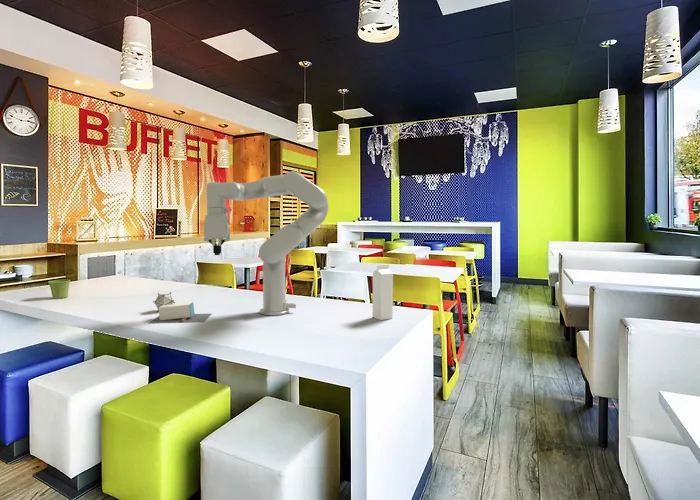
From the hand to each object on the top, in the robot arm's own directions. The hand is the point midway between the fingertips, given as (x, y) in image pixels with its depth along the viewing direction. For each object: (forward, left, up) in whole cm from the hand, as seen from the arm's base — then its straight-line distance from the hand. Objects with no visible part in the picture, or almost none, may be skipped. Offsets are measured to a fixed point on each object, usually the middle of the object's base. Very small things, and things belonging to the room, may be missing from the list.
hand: (217, 254), depth 170 cm
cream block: (+8, +10, -21) cm, 25 cm away
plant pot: (+86, -40, -25) cm, 98 cm away
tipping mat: (+12, +10, -25) cm, 30 cm away
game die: (+24, -5, -25) cm, 35 cm away
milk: (-69, +16, -25) cm, 75 cm away
